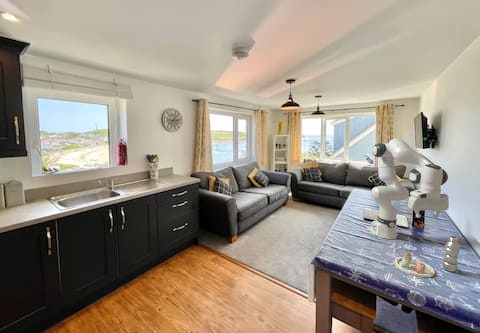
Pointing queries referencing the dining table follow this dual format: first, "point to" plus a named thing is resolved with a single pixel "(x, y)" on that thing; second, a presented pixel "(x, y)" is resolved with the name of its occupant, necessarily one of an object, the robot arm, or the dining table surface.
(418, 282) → the dining table surface
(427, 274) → the tray
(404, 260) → the bead
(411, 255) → the bead
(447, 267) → the silver metal bottle
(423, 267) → the bead
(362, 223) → the dining table surface
